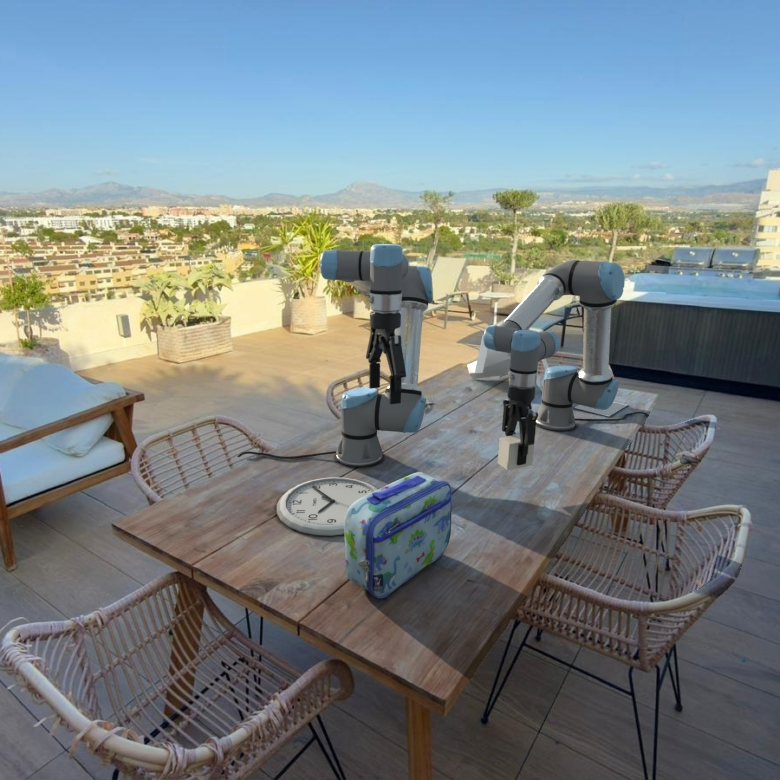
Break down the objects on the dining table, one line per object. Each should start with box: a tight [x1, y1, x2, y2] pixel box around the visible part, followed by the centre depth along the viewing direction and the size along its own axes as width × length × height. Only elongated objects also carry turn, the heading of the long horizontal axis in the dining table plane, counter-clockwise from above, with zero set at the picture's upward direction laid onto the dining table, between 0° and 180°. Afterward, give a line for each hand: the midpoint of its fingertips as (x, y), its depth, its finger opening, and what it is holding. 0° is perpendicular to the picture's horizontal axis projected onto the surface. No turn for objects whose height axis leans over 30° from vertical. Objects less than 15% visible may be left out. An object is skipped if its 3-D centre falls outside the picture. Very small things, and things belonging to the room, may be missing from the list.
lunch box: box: [343, 471, 453, 599], centre depth 113 cm, size 26×11×21 cm, turn 134°
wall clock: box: [276, 476, 379, 537], centre depth 142 cm, size 30×2×30 cm
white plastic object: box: [467, 328, 550, 392], centre depth 256 cm, size 37×45×31 cm
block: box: [497, 433, 535, 471], centre depth 154 cm, size 5×9×8 cm, turn 113°
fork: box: [425, 396, 435, 409], centre depth 223 cm, size 3×16×2 cm, turn 160°
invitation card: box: [573, 400, 629, 418], centre depth 226 cm, size 21×1×15 cm
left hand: (384, 395), depth 132 cm, fingers open, 13 cm apart
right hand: (515, 460), depth 155 cm, fingers closed on block, 5 cm apart
